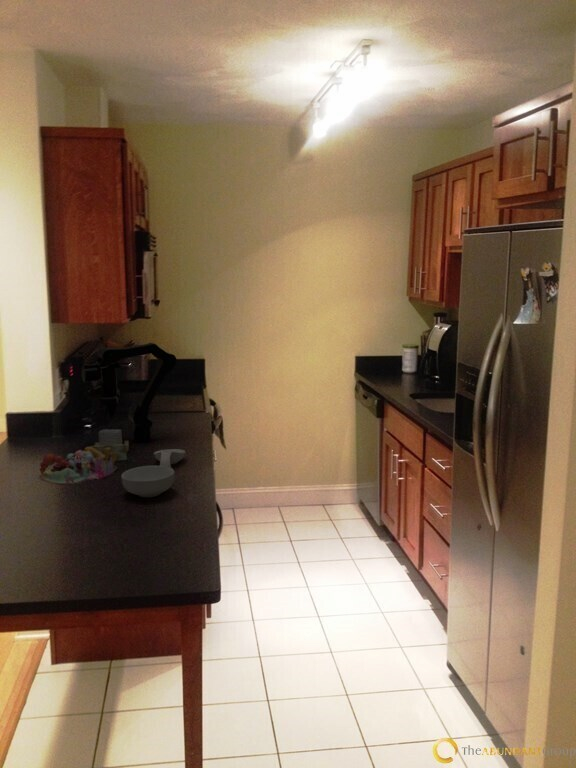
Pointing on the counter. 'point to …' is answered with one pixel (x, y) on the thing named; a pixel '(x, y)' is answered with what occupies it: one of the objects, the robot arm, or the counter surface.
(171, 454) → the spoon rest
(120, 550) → the counter surface
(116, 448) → the pair of wooden bars
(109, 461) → the candy landscape model
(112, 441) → the medicine box
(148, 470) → the cereal bowl
